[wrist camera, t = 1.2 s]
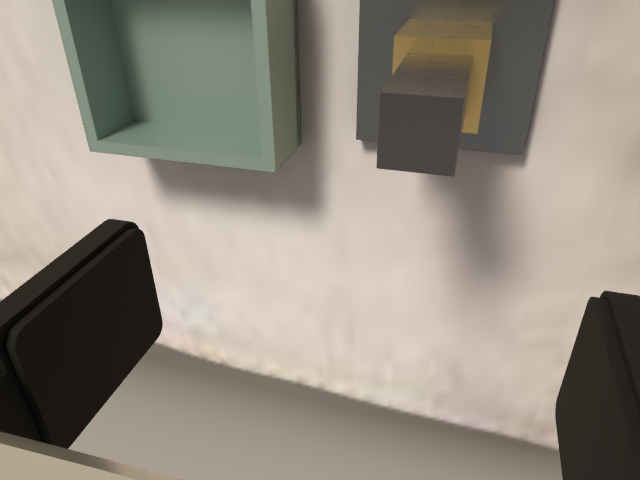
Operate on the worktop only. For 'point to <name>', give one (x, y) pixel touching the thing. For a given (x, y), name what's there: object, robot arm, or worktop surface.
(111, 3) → the bin
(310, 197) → the worktop surface
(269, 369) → the worktop surface
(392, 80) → the strut
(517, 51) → the ball stud
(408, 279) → the worktop surface
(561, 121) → the worktop surface
